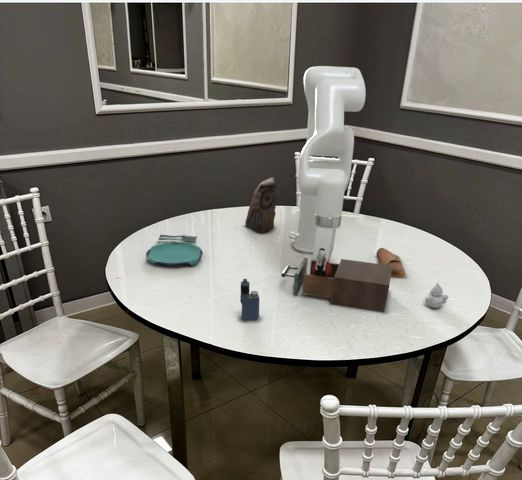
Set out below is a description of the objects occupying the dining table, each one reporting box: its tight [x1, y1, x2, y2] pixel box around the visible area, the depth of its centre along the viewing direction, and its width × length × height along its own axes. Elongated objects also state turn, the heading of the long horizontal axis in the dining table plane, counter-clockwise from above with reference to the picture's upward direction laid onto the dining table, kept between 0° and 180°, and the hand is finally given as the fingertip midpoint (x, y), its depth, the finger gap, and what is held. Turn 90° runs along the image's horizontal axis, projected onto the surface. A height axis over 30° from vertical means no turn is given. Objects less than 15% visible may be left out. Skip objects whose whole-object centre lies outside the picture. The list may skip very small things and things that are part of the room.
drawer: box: [280, 256, 340, 299], centre depth 146 cm, size 20×14×7 cm
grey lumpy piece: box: [424, 282, 449, 309], centre depth 140 cm, size 5×7×8 cm
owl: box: [244, 176, 278, 235], centre depth 191 cm, size 13×13×20 cm
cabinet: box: [330, 258, 392, 313], centre depth 143 cm, size 16×15×9 cm
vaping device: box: [239, 278, 260, 322], centre depth 129 cm, size 3×5×12 cm, turn 95°
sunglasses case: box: [376, 247, 406, 278], centre depth 166 cm, size 18×7×7 cm
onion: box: [313, 259, 332, 277], centre depth 144 cm, size 6×6×8 cm
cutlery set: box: [145, 234, 204, 267], centre depth 171 cm, size 20×30×2 cm, turn 2°
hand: (321, 277), depth 146 cm, fingers closed on onion, 5 cm apart
